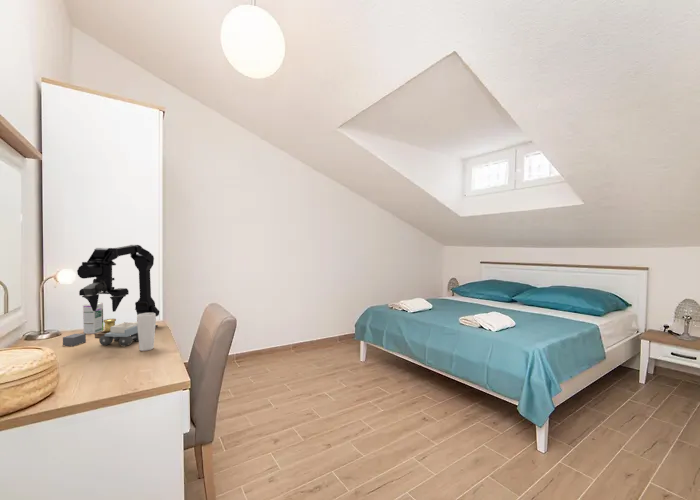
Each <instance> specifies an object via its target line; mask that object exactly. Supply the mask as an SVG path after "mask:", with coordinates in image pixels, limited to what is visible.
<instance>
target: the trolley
mask: <svg viewBox="0 0 700 500" xmlns="http://www.w3.org/2000/svg"><path fill="white" fill-rule="evenodd" d="M98 339H99V343H100V345H102V346H105V347H106V346H108V345H110V344H112V343H113V341H115V342H118V343H119V345H120V346H122V347H127V346H129V345H131V344H132V343H133V342H139V340H138V330H137V326H135V327H132V328H129V329H126V330H125V333H111V332H109V333H106V334H105V335H104V336H101V337H100V338H98Z"/></svg>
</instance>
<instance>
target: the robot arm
mask: <svg viewBox="0 0 700 500" xmlns="http://www.w3.org/2000/svg"><path fill="white" fill-rule="evenodd" d="M127 255H130V258H131V259H132V260H133V261H134V265H135V268H136V269H137V270H138V283H139V298H138V300H137V301H135V303H134V306H135V309H134V310H135V311H136V314H137V315H138V314H142V313H155V314H156V317H158V316H159V315H160V310H159V309H158V308H157V307H156V302H155V300H154V299H153V298H152V292H151V291H152V287H151V286H152V285H151V283H152V282H151V270H152V267H153V265H154V260H155V258H154V255H153V254H152V253H151V252H150V251H148V250H147V249H146V248H143V247H142V245H140V244H129V245H125V246H118V247H95V248H94V250H93V252H92V254H91V255H90V256H89V258H88V260H86V261H82V262H81V265H79V266H78V268H77V270H76V272H77V273H76V274H77V275H78V277H79V278H80V279H91V278H92V279H93V280H92V283H89V284H88V285H86V286H85V287H83V288H80V290H79V291H78V292H79V293H78V294H79V296H81V297H82V298H84V299H86V300H87V301H88V304H90V305H91V307H92V310H93V311H96V309H97V304H98V303H99V296H100V295H109V299H110V300H111V302H112V303H111V308H112V312H116V310H117V309H118V308H119V306H120V303H121V302H122V300H123V299H124V297H126V296H127V295H129V289H128V288H125V287H119V288H115V286H113V281H115V277H113V266H116V265H117V263H115V262H114V260H116V259H118V258H119V257H122V256H127ZM158 326H159V325H158V324H156V326H155V328H156V327H158Z"/></svg>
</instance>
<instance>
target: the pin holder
mask: <svg viewBox="0 0 700 500" xmlns="http://www.w3.org/2000/svg"><path fill="white" fill-rule="evenodd" d="M105 334H106V333H105V330H103V331H100V332H97V333H95V334H94V338H95V339H100V337H101V336H104V335H105Z"/></svg>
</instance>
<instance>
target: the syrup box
mask: <svg viewBox="0 0 700 500" xmlns="http://www.w3.org/2000/svg"><path fill="white" fill-rule="evenodd" d="M82 321H83V334H87V335H88V334H90V335H93V334H94V335H95V333H99V332H102V331H104V303H103V302H98V304H97V309H96V311H93V310H92V307H91V305H90V303H87V304H83V305H82Z"/></svg>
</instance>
